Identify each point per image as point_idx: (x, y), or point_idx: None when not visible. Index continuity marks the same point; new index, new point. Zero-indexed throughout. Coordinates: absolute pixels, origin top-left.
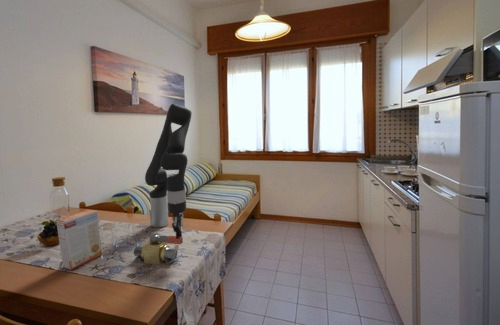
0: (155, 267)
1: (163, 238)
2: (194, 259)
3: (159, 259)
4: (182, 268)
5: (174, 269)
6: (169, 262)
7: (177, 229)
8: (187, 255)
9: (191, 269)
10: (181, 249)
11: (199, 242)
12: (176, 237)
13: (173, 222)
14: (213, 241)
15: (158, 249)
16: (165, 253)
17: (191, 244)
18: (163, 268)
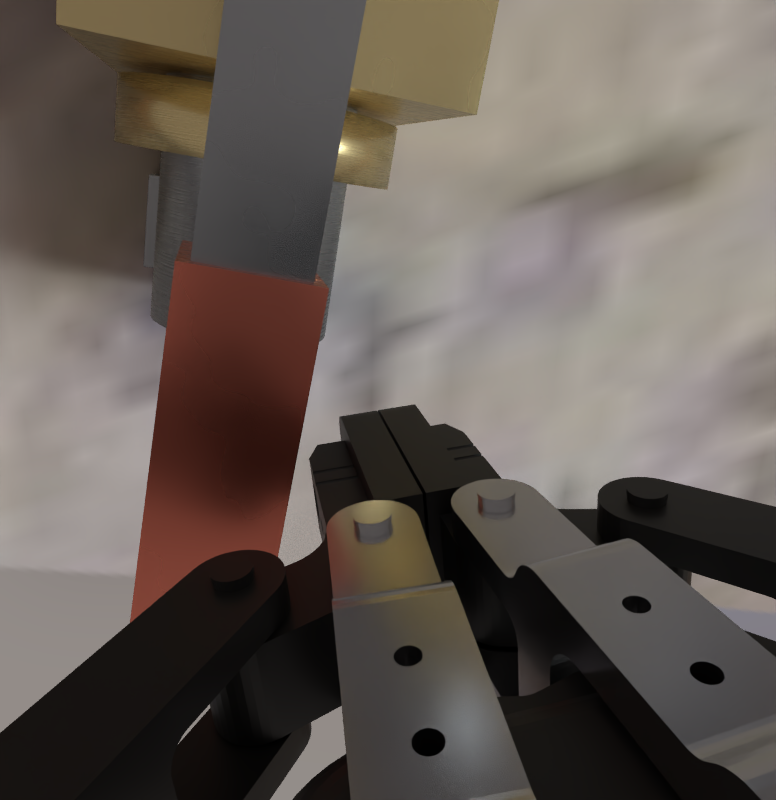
0: (17, 38)
1: (207, 136)
2: (287, 522)
3: (121, 70)
4: (48, 453)
5: (5, 359)
6: (145, 241)
7: (218, 710)
8: (389, 408)
9: (40, 565)
10: (559, 276)
11: (711, 448)
12: (214, 514)
13: (348, 761)
14: (703, 591)
15: (79, 39)
16: (167, 178)
17: (677, 366)
18: (7, 187)
